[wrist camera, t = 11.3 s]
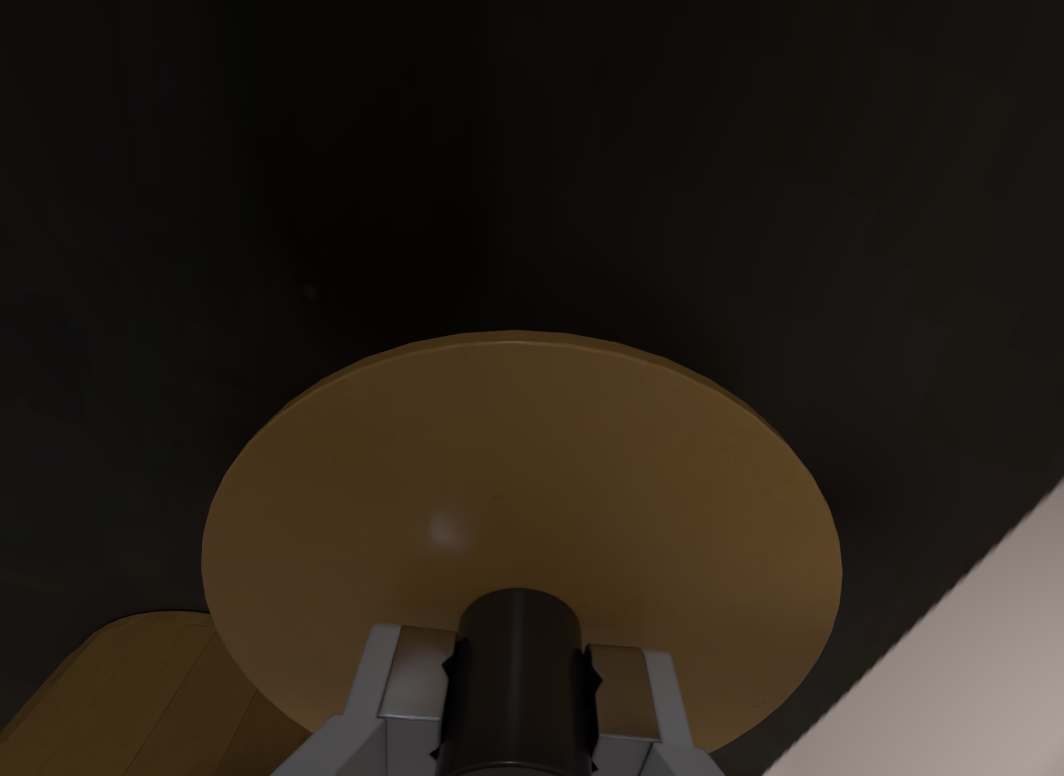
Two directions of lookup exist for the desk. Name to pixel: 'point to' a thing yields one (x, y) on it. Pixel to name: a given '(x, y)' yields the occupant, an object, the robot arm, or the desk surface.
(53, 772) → the tin
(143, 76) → the desk surface
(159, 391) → the desk surface
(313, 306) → the desk surface
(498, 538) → the tin lid
